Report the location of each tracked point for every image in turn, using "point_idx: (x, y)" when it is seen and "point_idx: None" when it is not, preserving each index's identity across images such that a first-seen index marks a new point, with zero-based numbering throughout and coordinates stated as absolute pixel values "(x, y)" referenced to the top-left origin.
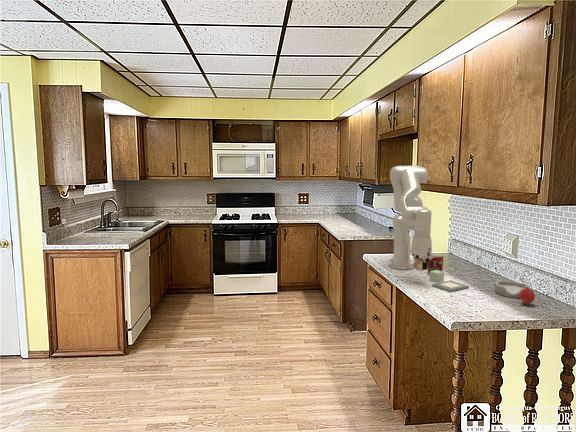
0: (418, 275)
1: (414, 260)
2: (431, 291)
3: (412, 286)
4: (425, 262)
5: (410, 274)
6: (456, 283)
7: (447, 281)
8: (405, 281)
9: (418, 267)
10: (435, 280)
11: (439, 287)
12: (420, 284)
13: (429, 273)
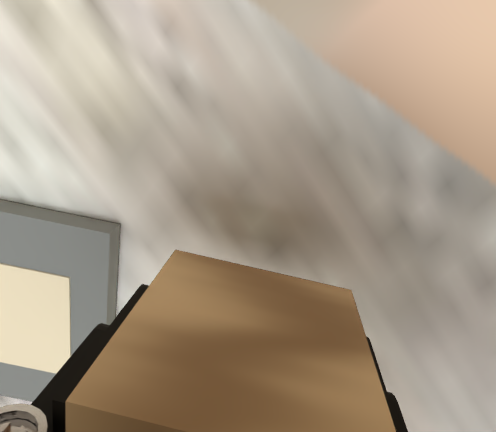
0: None
1: (367, 426)
2: (3, 66)
3: (236, 62)
4: (21, 425)
5: (470, 396)
6: (21, 379)
7: None
8: (397, 172)
9: (221, 286)
10: None
11: (26, 211)
12: (226, 196)
13: None
